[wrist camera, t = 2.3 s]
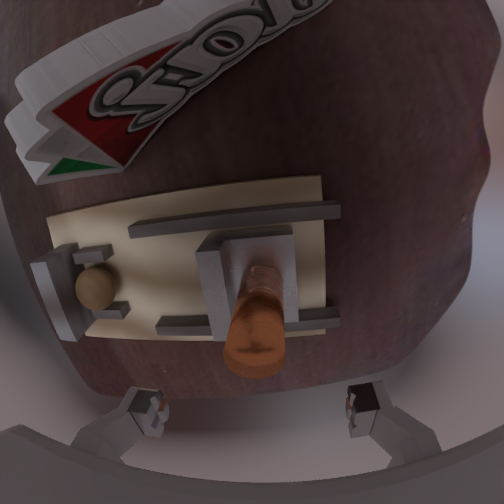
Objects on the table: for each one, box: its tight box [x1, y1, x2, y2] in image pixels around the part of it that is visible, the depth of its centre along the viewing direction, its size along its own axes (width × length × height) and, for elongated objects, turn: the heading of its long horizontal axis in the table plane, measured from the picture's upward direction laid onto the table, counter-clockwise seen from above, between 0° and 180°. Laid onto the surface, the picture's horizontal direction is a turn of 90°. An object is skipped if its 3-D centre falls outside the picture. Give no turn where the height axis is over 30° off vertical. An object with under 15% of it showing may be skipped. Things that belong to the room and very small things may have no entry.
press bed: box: [30, 174, 341, 342], centre depth 22 cm, size 14×27×6 cm, turn 97°
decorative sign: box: [5, 0, 333, 185], centre depth 13 cm, size 23×3×15 cm, turn 130°
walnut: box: [75, 266, 116, 311], centre depth 23 cm, size 4×4×4 cm
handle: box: [195, 225, 299, 379], centre depth 18 cm, size 7×6×10 cm
